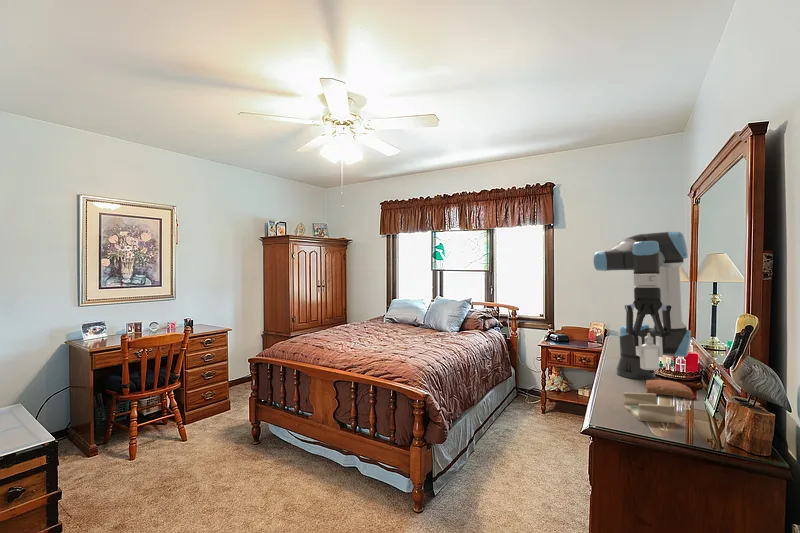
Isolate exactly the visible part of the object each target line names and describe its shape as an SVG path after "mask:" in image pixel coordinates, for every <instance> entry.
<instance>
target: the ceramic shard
mask: <svg viewBox="0 0 800 533" xmlns="http://www.w3.org/2000/svg"><path fill="white" fill-rule="evenodd" d="M645 387H646V388H645V389H646V393H653V394H656V396H657V395H658V396H659V395H661V396H674V397H678V398H679V397H680V398H684V399H688V400H693V399H694V397H695V396H694V392H693V391H692V389H691V388H690V387H689V386H687V385H685V384H683V383H681V382H678V381H673V380H666V379H646V383H645Z"/></svg>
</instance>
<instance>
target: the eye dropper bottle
mask: <svg viewBox="0 0 800 533" xmlns="http://www.w3.org/2000/svg"><path fill="white" fill-rule="evenodd" d="M640 368H641V369H644V370H654V371H657V370H659V369H660V357H659V348H658V346H657V345H654V344H653V337H651V335H650V333H647V336H646V337H645V344H643V345H642V357H640Z"/></svg>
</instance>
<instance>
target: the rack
mask: <svg viewBox="0 0 800 533" xmlns="http://www.w3.org/2000/svg"><path fill="white" fill-rule="evenodd" d="M657 399H658V398H657V395H656V394H653V393H647V392H623V407H624V408H625V409H626V410H627V411H628V412H630V413H631V415H632V416H634V417H635V418H636V419H638V420H639V421H640V422H653V423H670V424H671V423H673V424H674V423H675V424H676V406H675V405H670V404H658V403H657V402H658V401H657Z"/></svg>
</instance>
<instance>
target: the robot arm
mask: <svg viewBox="0 0 800 533" xmlns="http://www.w3.org/2000/svg"><path fill="white" fill-rule="evenodd" d="M688 257H689V256H688V248H687V243H686V239H685V237H684V234H683V233H682V232H680V231H664V232H653V233H652V232H651V233H638V234H635V235H634V234H633V235H632V236H628V237H626V238H624V239H622V240H620V241H619V242H618V243H617V244H616V246H615V247H612V248H611V249H609V250H600V251H596V252H594V254H593V267H594V269H595V270H596V271H604V272H606V271H608V272H609V271H633V286H634V288H633V298H634V299H633V302H632V303H631V304H625V305H624V309H625V312H626V322H625V325H622V326H620V328H619V335H618V336H619V355H620V357H619V359H618V363H617V367H616V375H619V376H620V377H625V378H629V379H635V380H654V379H655V378H656V370H644V369H641V368H640V357H642V345H643V344H645V337H646V336H647V333H650V335H651V337H653V344H654V345H657V346H658V348H659V358H664V357H663V356H665V357H666V356H668V357H669V356H670V357H674V358H675V357H679V358H680V357H681V358H684V357H685V358H686V357H687V356H688V354H689V351H690V345H691V337H692V330H690V329H688V328H687V325H686V324H685V323H684V322H683V319H682V318H683V316H682V315H683V314H682V298H681V297H682V296H681V295H682V294H681V292H682V291H681V275H680V272H681V271H680V270H681V269H680V267H681V266H682V265H683V264H684V259H687V258H688ZM634 309H635V310H636V311H637V312H636V319H635V322H634ZM648 315H649V316H651V318H652V321H653V327H650V325H649V324H647V323H643V321H644V318H645V317H646V316H648Z"/></svg>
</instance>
